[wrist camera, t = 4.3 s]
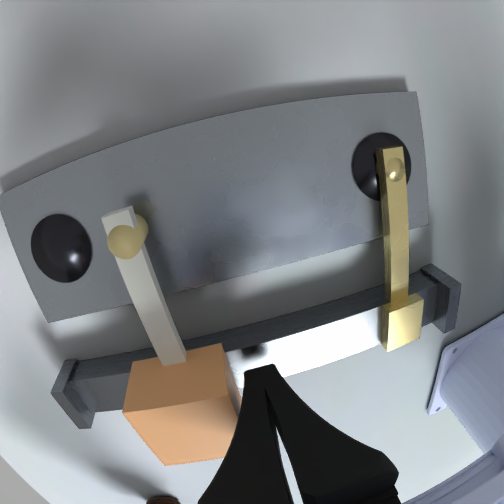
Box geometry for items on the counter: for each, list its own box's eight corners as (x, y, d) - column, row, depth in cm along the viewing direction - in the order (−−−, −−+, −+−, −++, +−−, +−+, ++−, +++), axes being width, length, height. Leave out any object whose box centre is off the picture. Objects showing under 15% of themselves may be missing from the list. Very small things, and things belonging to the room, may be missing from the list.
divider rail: (428, 138, 13) (464, 142, 10) (428, 305, 16) (454, 328, 14) (7, 245, 11) (-22, 266, 9) (88, 396, 15) (79, 428, 13)
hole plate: (408, 92, 12) (418, 91, 11) (421, 220, 14) (430, 224, 14) (3, 193, 11) (-6, 197, 10) (52, 316, 13) (47, 324, 12)
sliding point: (176, 188, 11) (164, 214, 7) (241, 392, 15) (252, 451, 11) (79, 219, 11) (34, 255, 7) (166, 406, 15) (164, 465, 11)
